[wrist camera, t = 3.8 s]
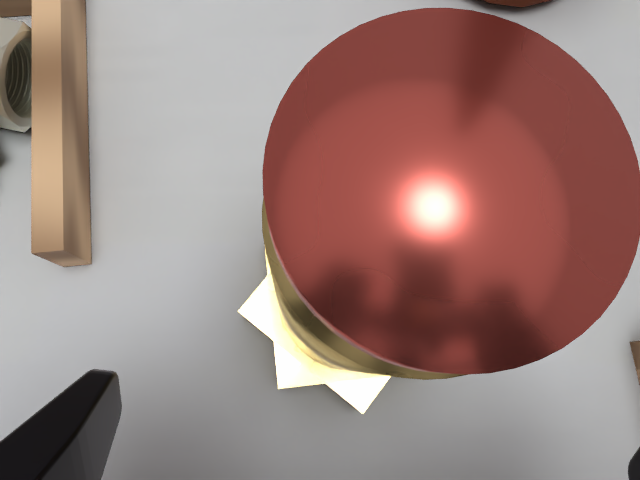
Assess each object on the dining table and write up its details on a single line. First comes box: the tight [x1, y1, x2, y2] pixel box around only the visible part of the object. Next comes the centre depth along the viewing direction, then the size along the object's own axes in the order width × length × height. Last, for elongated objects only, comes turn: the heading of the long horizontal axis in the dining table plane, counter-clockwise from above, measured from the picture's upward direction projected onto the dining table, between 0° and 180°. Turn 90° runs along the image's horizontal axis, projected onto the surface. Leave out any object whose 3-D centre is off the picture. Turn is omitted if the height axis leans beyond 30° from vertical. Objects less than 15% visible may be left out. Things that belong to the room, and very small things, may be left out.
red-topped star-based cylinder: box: [238, 8, 640, 414], centre depth 13 cm, size 7×7×14 cm
